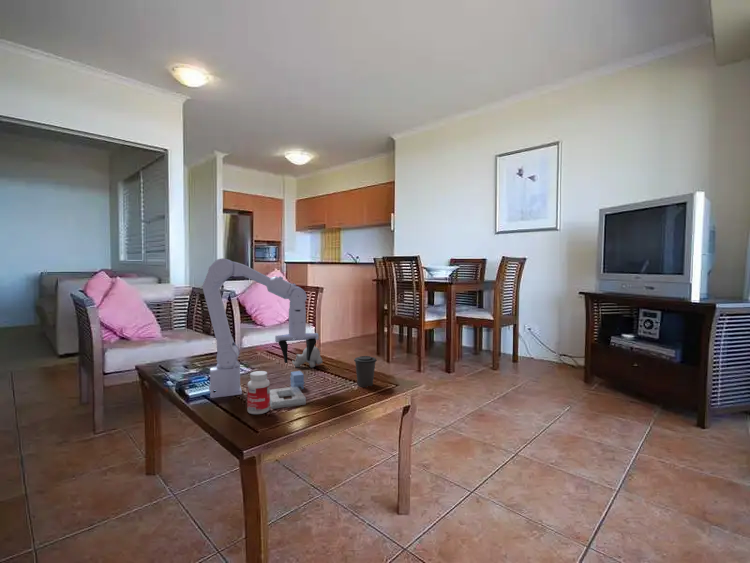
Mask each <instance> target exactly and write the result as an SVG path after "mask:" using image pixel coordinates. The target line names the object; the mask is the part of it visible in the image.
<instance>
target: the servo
mask: <svg viewBox="0 0 750 563" xmlns="http://www.w3.org/2000/svg"><path fill="white" fill-rule="evenodd" d="M304 377H305V376H304V373H303V372H302V371H301V370H298V371H297V370H296V371H290V377H289V380H290V387H296V386H297V387H298V388H299V389H300V391H301V392H302V390H304V386H305V378H304Z"/></svg>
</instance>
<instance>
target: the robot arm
mask: <svg viewBox="0 0 750 563" xmlns="http://www.w3.org/2000/svg"><path fill="white" fill-rule="evenodd" d="M232 276H233V277H244V278H246V279H249V280H251V281H253V282H256V283H259V284H261V285H263V286H265V287H266V288H267V292H269V293H270V294H273V295H276V296H278V297H280V298H282V299H284V300H289V308H288V333H287V334H280V335H275V337H274V338H275V339H274V340H275V342H276V343H277V344H278V345H279V347H280V350H281V352H282V355H283V360H284V363H285V364H288V362H289V361H288V360H289V359H288V358H289V357H288V348H289V344H288V342H293V341H294V342H295V341H297V342H298V341H305V343H306V345H305V346H306V347H307V354H306V359H307V361H310V357H311V353H312V350H313V348H314V346H315V345H316V344H317V340H319V333H317V332H314V333H311V332H306V325H307V324H306V323H307V320H306V319H307V317H306V316H307V315H306V314H307V310H306V302H307V298H308V296H307V293H306V291H305V290H304V289H303V288H301V287H300V286H297V284H296V283H291V282H289V281H287V280H285V279H284V276H283V277H282V276H279V277H278V276H273V277H270V276H267V275H266V274H264V273H262V272H259V271H258V270H256V269H253V268H251V267H250V266H248V265H247V264H246V265H245V264H243V263H240V262H237V261H232V260H231V259H229V258H228V259H227V258H218V259H216V260H215V261H213V263H212V264H211V265H210V266H209V267H208V268H207V273H206V276H205V278H204V282H203V283H202V292H203V295H204V298H205V299H204V300H205V303H206V306H207V310H208V314H209V317H210V318H209V319H210V321H211V325H212V329H213V332H214V336H215V340H216V341H215V342H216V350H217V354H216V363H217V364H216V366H214V367H213V366H212V367H210V368H209V373H210V374H209V377H210V378H209V380H210V381H209V383H210V384H209V385H208V390H209V394H210V395H209V396H210V398H211V399H215V398H223V397H232V396H240V395H242V394H243V390H242V387H241V363H240V361H238V360H239V355H240V348H239V347H238V345H237V344H236V342H235V341H234V337H233V335H232V332H231V329H230V325H229V321H228V317H227V313H226V309H225V305H224V302H223V298H222V294H221V290H220V289H221V288H222V286H223V285H224V284H225V282H226V281H227V280H228V279H229V278H231V277H232ZM315 347H316V346H315ZM214 390H216V391H214Z"/></svg>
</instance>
